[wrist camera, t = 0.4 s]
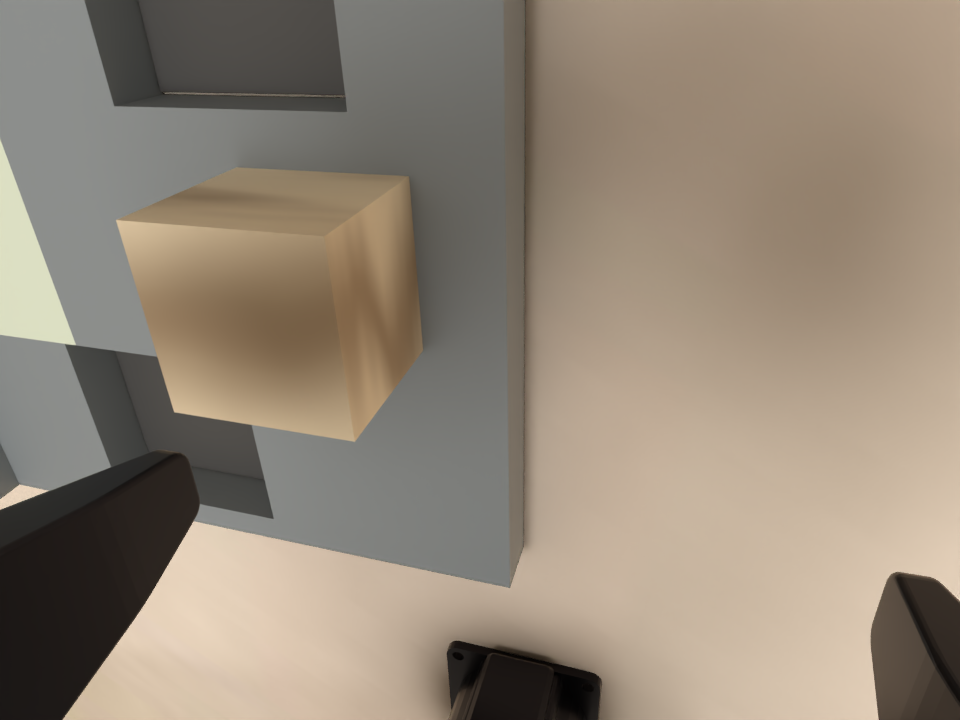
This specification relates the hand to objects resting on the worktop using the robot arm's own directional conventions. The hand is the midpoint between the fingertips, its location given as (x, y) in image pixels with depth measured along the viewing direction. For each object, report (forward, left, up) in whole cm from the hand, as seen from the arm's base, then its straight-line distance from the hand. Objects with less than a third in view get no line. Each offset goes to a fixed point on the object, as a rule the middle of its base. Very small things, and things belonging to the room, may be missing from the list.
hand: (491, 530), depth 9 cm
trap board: (-1, +13, -12) cm, 18 cm away
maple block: (-1, +7, -10) cm, 12 cm away
